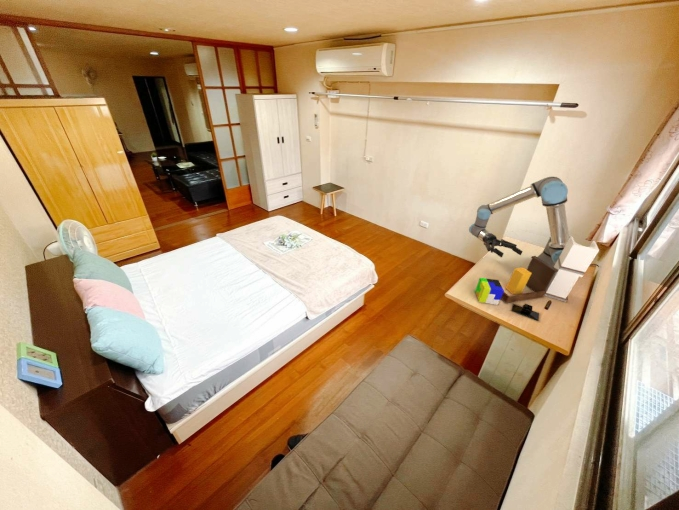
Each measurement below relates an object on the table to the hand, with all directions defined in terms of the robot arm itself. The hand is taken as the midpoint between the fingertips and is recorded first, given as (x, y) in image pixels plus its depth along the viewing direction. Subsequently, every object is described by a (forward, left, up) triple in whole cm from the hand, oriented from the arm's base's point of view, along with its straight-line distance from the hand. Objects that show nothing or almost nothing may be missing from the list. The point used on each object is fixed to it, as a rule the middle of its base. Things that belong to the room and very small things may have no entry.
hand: (512, 254), depth 158 cm
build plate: (+8, +28, -20) cm, 35 cm away
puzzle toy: (+21, +13, -20) cm, 31 cm away
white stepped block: (-23, +18, -20) cm, 35 cm away
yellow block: (0, +11, -20) cm, 22 cm away
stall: (0, +12, -20) cm, 23 cm away
